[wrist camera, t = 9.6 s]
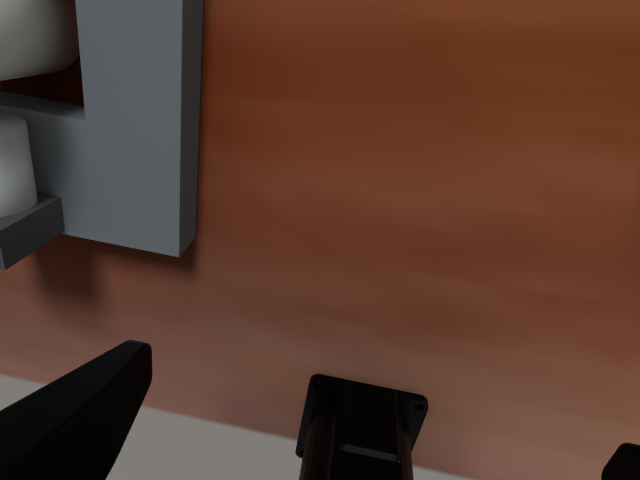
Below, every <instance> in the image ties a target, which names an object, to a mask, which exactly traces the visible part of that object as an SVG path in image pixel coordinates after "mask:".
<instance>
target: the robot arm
mask: <svg viewBox="0 0 640 480" xmlns="http://www.w3.org/2000/svg"><path fill="white" fill-rule="evenodd" d="M151 380H152V349H151V346H150V344H148V343H144V342H139V341H135V340H128V341H126V342H124V343H122V344H120V345H118V346H116V347H115V348H113V349H111V350H109V351H107V352H106V353H104V354H102V355H100V356H98V357H97V358H95V359H93V360H91V361H89V362H87V363H86V364H84V365H82V366H80V367H78V368H77V369H75V370H73V371H71V372H69V373H68V374H66V375H64V376H62V377H60V378H59V379H57V380H55V381H53V382H51V383H50V384H48V385H46V386H44V387H42V388H41V389H39V390H37V391H35V392H33V393H32V394H30V395H28V396H26V397H24V398H22V399H21V400H19V401H17V402H15V403H13V404H12V405H10V406H8V407H6V408H4V409H3V410H1V411H0V480H105V479H106V477H107V476H108V474H109V472H110V470H111V469H112V467H113V465H114V463H115V460H116V459H117V457H118V455H119V453H120V451H121V448H122V446H123V444H124V441H125V440H126V437H127V435H128V433H129V431H130V429H131V427H132V424H133V422H134V420H135V417H136V416H137V413H138V411H139V409H140V407H141V405H142V402H143V400H144V398H145V396H146V394H147V391H148V389H149V387H150V384H151ZM316 383H320V384H316ZM416 404H421V405H416ZM427 411H428V401H427V398H426V397H424V396H422V395H419V394H414V393H409V392H404V391H399V390H394V389H390V388H385V387H380V386H375V385H370V384H365V383H361V382H356V381H351V380H346V379H341V378H336V377H331V376H327V375H322V374H315V375H313V376H312V377H311V378H310V382H309V387H308V392H307V397H306V402H305V407H304V412H303V417H302V422H301V427H300V432H299V437H298V442H297V447H296V455H297V456H298V457H300V458H302V465H301V471H300V477H299V480H413V470H412V457H411V452H412V450H413V447H414V444H415V442H416V439H417V437H418V434H419V432H420V429H421V426H422V424H423V421H424V419H425V416H426V413H427ZM601 479H602V480H640V445H636V444H631V443H624V444H622V445H620V446H619V447H618V449H617V450H616V452H615V453H614V454H613V456H612V457H611V459H610V460H609V461H608V463H607V464H606V466H605V467H604V469H603V471H602V477H601Z"/></svg>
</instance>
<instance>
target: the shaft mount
mask: <svg viewBox="0 0 640 480" xmlns="http://www.w3.org/2000/svg"><path fill="white" fill-rule="evenodd" d="M75 3H76V14H77V26H78V38H79V50H80V61H81V73H82V85H83V97H84V106H80V105H75V104H69V103H64V102H59V101H54V100H48V99H43V98H38V97H33V96H27V95H22V94H17V93H12V92H6V91H1V90H0V269H1V270H6V269H8V268H9V267H11V266H12V265H14V264H15V263H17V262H18V261H20V260H21V259H23V258H24V257H26V256H27V255H29V254H30V253H32V252H33V251H35V250H36V249H38V248H39V247H41V246H42V245H44V244H45V243H47V242H48V241H50V240H51V239H53V238H54V237H56V236H57V235H59V234H65V235H70V236H75V237H80V238H85V239H90V240H95V241H100V242H105V243H110V244H115V245H120V246H125V247H130V248H135V249H140V250H145V251H150V252H155V253H160V254H165V255H170V256H175V257H180V255H181V254H182V253H183V252H184V251H185V249H186V248H187V247H188V246H189V245H190V244H191V242H192V241H193V240H194V239H195V238H196V211H197V181H198V151H199V120H200V90H201V60H202V30H203V0H75Z"/></svg>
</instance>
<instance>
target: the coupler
mask: <svg viewBox="0 0 640 480" xmlns="http://www.w3.org/2000/svg"><path fill="white" fill-rule="evenodd" d="M79 55H80V50H79V38H78V26H77V14H76V3H75V0H0V81H3V80H9V79H16V78H23V77H29V76H36V75H42V74H49V73H55V72H59V71H62V70H64V69H66V68H68V67H69V66H70V65H72V64H73V63H74V62H75V60H76V59H77V58H78V56H79Z"/></svg>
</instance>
